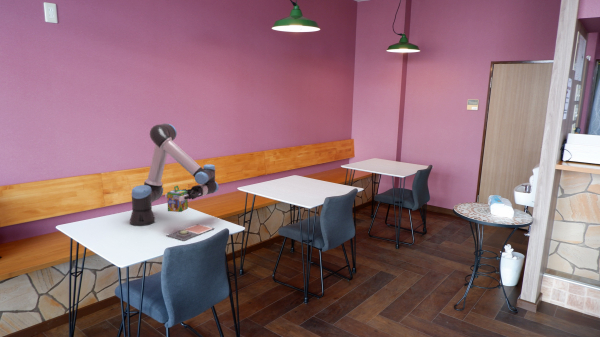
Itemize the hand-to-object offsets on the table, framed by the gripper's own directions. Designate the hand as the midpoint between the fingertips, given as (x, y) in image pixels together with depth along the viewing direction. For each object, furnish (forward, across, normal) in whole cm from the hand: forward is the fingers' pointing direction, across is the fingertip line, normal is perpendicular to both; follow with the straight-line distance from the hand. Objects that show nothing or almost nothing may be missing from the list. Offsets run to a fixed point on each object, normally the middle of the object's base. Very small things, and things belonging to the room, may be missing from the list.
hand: (172, 197), depth 234 cm
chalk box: (-4, 0, -9) cm, 10 cm away
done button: (+1, -10, -21) cm, 23 cm away
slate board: (-7, -8, -22) cm, 25 cm away
